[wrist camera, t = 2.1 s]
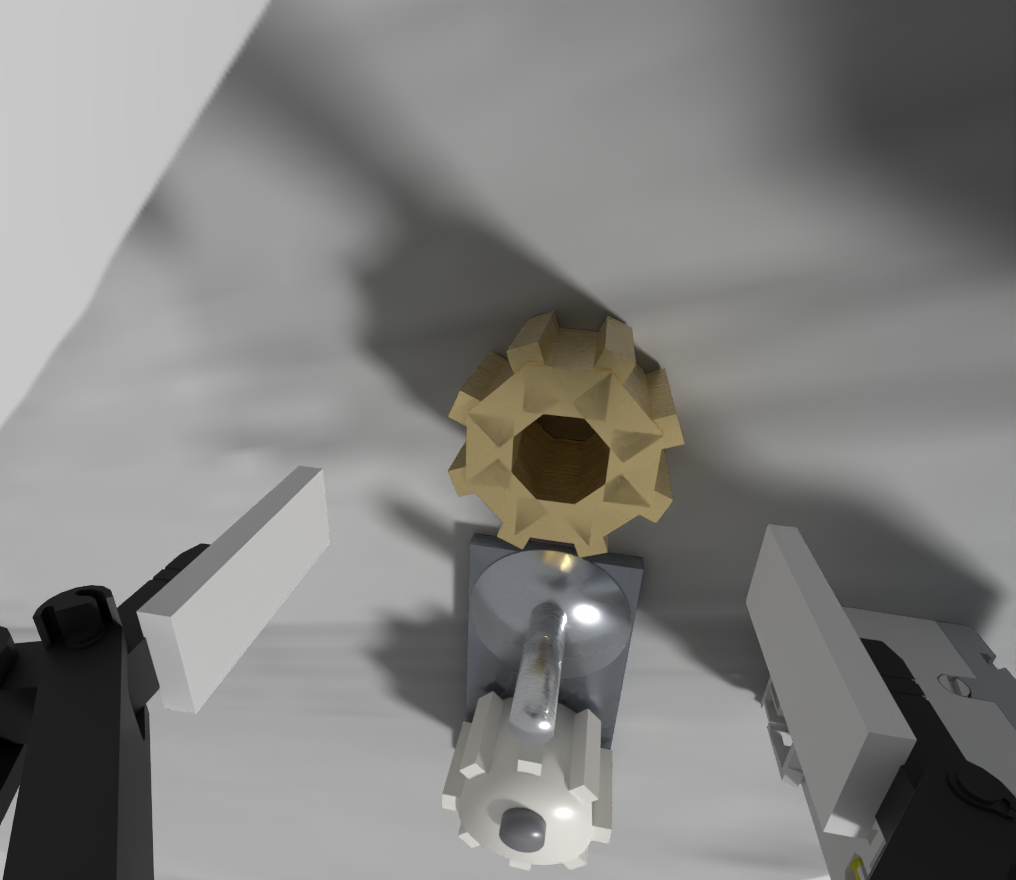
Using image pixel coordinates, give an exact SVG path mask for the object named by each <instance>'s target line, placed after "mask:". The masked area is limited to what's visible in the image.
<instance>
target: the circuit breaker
mask: <svg viewBox="0 0 1016 880" xmlns="http://www.w3.org/2000/svg"><path fill="white" fill-rule="evenodd" d="M841 607H842V608H843V610H844V612H845V614H846V615H847V617H848V619H849V621H850V623H851V624H852V626H853V628H854V630H855V631H856V633H857V635H858V637H859V638H865V639H872V640H879V641H883V642H884V643H885V644H886V645H887V646H888V647H889V648H891V649H892V650H893V651H894V652H895V653H896V654H897V655H898V656H899V657H901V658H902V659H903V660H904V662H905V664H906V665H907V667H908V668H909V670H910V672H911V673H912V675H913V676H914V678H915V679H916V680H915V682H916V683H917V684H919V686H920V687H921V689H922V690H923V692H924V694H925V695H926V700H929V702H930V703H931V705H932V706H933V708H934V709H935V711H936V713H937V714H938V716H939V717H940V719H941V721H942V722H943V724H944V725H945V727H946V728H947V730H948V732H949V733H950V735H951V736H952V738H953V739H954V741H955V743H956V744H957V746H958V747H959V749H960V751H961V752H962V754H963V755H964V757H965V758H966V760H967V761H969V762H971V763H973V764H975V765H977V766H979V767H982V768H984V769H985V770H986V771H988V772H989V773H990V774H992V775H993V776H994V777H996V778H997V779H999V780H1000V781H1001V782H1002V783H1003V784H1004V785H1005V786H1006V787H1007V788H1008V789H1009V790H1010V791H1011V792H1012V794H1013V795H1014V796H1015V798H1016V679H1015V678H1014V677H1013V676H1012V675H1011V673H1010V672H1009V671H1008V670H1007V669H1006V668H1003V669H1000V670H998V669H997V668H996V667H995V666H994V664H993V661H994V659H995V658H996V655H995V654H994V653H993V652H992V650H991V649H990V648H989V647H988V645H987V644H986V643H985V642H984V641H983V639H982V638H981V637H980V636H979V634H978V633H977V632H976V631H975V629H974V628H972V627H970V626H964V625H958V624H951V623H945V622H939V621H932V620H926V619H920V618H913V617H907V616H901V615H894V614H888V613H881V612H875V611H869V610H862V609H856V608H850V607H843V606H841ZM761 707H762V709H765V710H766V714H767V717H768V721H769V723H768V726H767V729H768V732H769V736H770V739H771V743H772V747H773V750H774V754H775V757H776V761H777V764H778V768H779V772H780V775H781V779H782V781H784V782H786V783H788V784H790V785H793V786H795V787H797V788H798V786H799V784H802V787H803V791H804V794H805V797H806V800H807V804H808V807H809V810H810V813H811V816H812V820H813V823H814V826H815V829H816V833H817V836H818V839H819V842H820V846H821V849H822V852H823V855H824V858H825V862H826V865H827V868H828V871H829V875H830V877H831V880H867V878H868V875H869V873H870V872H871V870H872V868H873V866H874V864H875V862H876V860H877V859H878V857H879V855H880V853H881V851H882V849H883V847H884V846H885V844H886V841H885V839H884V837H883V834H882V832H881V830H880V827H879V825H878V823H877V820H876V821H875V823H874V825H873V827H872V828H871V830H870V832H869V834H868V836H867V838H866V840H865V839H860V838H854V837H849V836H844V835H838V834H833V833H828V832H823V830H822V827H821V824H820V821H819V818H818V815H817V812H816V809H815V806H814V803H813V800H812V797H811V794H810V791H809V788H808V785H807V782H806V779H805V776H804V774H803V771H802V768H801V765H800V762H799V759H798V756H797V753H796V750H795V747H794V744H793V743H792V745H791V747H790V746H785V745H784V743H783V740H782V736H783V737H788V738H791V735H790V732H789V729H788V726H787V723H786V720H785V717H784V714H783V711H782V708H781V705H780V703H779V700H778V697H777V694H776V691H775V688H774V685H773V682H772V679H771V676H770V678H769V681H768V683H767V686H766V689H765V692H764V695H763V698H762V701H761Z"/></svg>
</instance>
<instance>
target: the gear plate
mask: <svg viewBox="0 0 1016 880" xmlns="http://www.w3.org/2000/svg"><path fill="white" fill-rule="evenodd" d="M643 571H644V567H643V558H639V557H632V556H625V555H618V554H611V553H602V554H597V555H591V556H586V557H581V558H579V556H578V553H577V551H576V548H570V547H563V546H556V545H549V544H542V543H535V542H527V543H526V545H525V546H524V548H523V549H521V548H519V547H517V546H515V545H513V544H511V543H509V542H507V541H505V540H503V539H501V538H499V537H493V536H486V535H479V534H474V536H473V538H472V540H471V543H470V562H469V602H468V643H467V684H466V722H469V723H472V721H473V718H474V714H475V710H476V707H477V703H478V699H479V698H481V697H483V696H485V695H486V694H488V693H490V692H492V691H494V692H495V693H496V694H497V695H498V696H499V697H500V698H501V699H502V700H503V699H507V698H510V697H514V698H513V703H512V708H511V712H510V717H509V722H508V727H509V730H510V732H511V733H512V735H513V736H514V737H516V738H517V739H518V740H520V741H522V742H525V743H528V744H543V743H546V742H548V741H549V740H550V739H551V738H552V737H553V735H554V728H555V719H556V711H557V702H558V703H560V704H562V705H564V706H566V707H568V708H570V709H571V710H573V711H574V712H576V713H579V712H582V711H584V710H586V709H589V710H590V711H591V712H592V713H593V714H594V715H595V716H596V717H597V718H598V719H599V720H600V721H601V745H600V748H604V749H609V750H610V749H611V743H612V738H613V733H614V727H615V722H616V716H617V711H618V706H619V700H620V695H621V690H622V684H623V679H624V673H625V668H626V663H627V657H628V652H629V646H630V641H631V636H632V630H633V625H634V619H635V614H636V609H637V603H638V598H639V592H640V587H641V582H642V576H643Z"/></svg>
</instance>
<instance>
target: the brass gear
mask: <svg viewBox="0 0 1016 880" xmlns="http://www.w3.org/2000/svg"><path fill="white" fill-rule="evenodd" d="M506 354H507V356H508V359H507V360H506V359H504V358H502V357H501V356H499V355H497V354H495V353H493V352H490V353H489V354H488V355H487V357H486V358H485V359H484V361H483V362H482V363H481V364H480V366H479V367H478V368H477V370H476V371H475V372H474V373H473V375H472V376H471V377H470V379H469V380H468V381H467V382H466V384H465V385H464V386H463V388H462V389H461V390H460V392H459V394H458V396H457V398H456V400H455V403H454V405H453V407H452V409H451V411H450V414H449V416H448V417H449V418H451V419H453V420H455V421H457V422H459V423H461V424H463V425H465V426H467V435H466V442H465V443H464V445H463V447H462V448H461V450H460V451H459V453H458V455H457V456H456V458H455V460H454V461H453V463H452V465H451V466H450V468H449V470H448V473H449V475H450V478H451V480H452V482H453V485H454V487H455V490H456V492H457V494H458V497H459V496H464V495H468V494H472V493H475V494H476V495H477V496H478V497H479V498H480V499H481V500H482V501H483V502H484V503H485V504H486V505H487V506H488V507H489V508H490V509H491V510H492V511H493V512H494V514H495V515H496V516H497V517H498V518H499V519H500V520H501V521H502V523H501V526H500V529H499V532H498V535H497V537H499V538H501V539H503V540H505V541H507V542H509V543H511V544H513V545H515V546H517V547H519V548H521V549H523V548H524V546H525V545H526V543H527V542H528V540H529V538H530V537H531V538H538V539H545V540H552V541H559V542H566V543H573V544H574V545H575V548H576V551H577V553H578V556H579V558H581V557H586V556H591V555H597V554H602V553H608V534H609V533H610V532H612V531H614V530H615V529H617V528H618V527H620V526H622V525H623V524H625V523H627V522H628V521H630V520H631V519H633V518H635V517H636V516H638V515H641V516H643V517H645V518H647V519H649V520H650V521H652V522H654V523H657V522H658V520H659V519H660V518H661V516H662V515H663V514H664V512H665V511H666V509H667V508H668V507H669V505H670V504H671V503H672V501H673V496H672V490H671V485H670V479H669V473H668V468H667V462H666V457H665V451H664V449H666V448H670V447H674V446H679V445H683V444H684V440H683V436H682V432H681V428H680V424H679V421H678V417H677V413H676V409H675V405H674V402H673V398H672V394H671V390H670V386H669V383H668V379H667V375H666V371H665V368H664V369H660V370H657V371H653V372H649V373H645V371H644V370H643V369H642V368H641V366H640V365H639V364H638V363H637V362H636V360H635V351H634V341H633V332H632V328H631V327H629V326H627V325H626V324H624V323H622V322H620V321H618V320H616V319H614V318H612V317H610V316H608V315H607V317H606V319H605V321H604V322H603V324H602V326H601V328H600V330H599V331H588V330H577V329H566V328H559V325H558V322H557V319H556V315H555V312H554V311H551V312H548V313H545V314H542V315H539V316H535V317H532V318H529V319H528V320H527V321H526V323H525V324H524V326H523V327H522V329H521V330H520V332H519V333H518V335H517V336H516V337H515V339H514V340H513V342H512V343H511V345H510V346H509V348H508V349H507V351H506ZM543 414H548V415H557V416H566V417H575V418H584V419H585V420H586V421H587V422H588V423H589V424H590V426H591V427H592V428H593V429H594V430H595V431H596V433H594V434H593V435H592V436H590V437H589V438H587V439H586V440H585V441H583V442H582V441H574V440H565V439H557V438H552V437H551V436H550V435H549V434H548V432H547V431H546V430H545V429H544V428H543V427H542V426H541V425H540V423H539V422H538V421H537V420H536V419H538V418H539V417H540V416H541V415H543Z"/></svg>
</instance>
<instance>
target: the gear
mask: <svg viewBox="0 0 1016 880" xmlns="http://www.w3.org/2000/svg"><path fill="white" fill-rule="evenodd" d="M513 698H514V697H510V698H507V699H503V700H502V699H501V698H500V697H499V696H498V695H497V694H496V693H495V692H494V691H492V692H490V693H488V694H486V695H485V696H483V697H481V698H479V699H478V703H477V707H476V710H475V714H474V718H473V721H472V723H469V722H464V721H463V724H462V728H461V731H460V735H459V738H458V742H457V745H456V748H455V752H454V755H453V759H452V762H451V766H450V769H449V773H448V776H447V780H446V783H445V787H444V790H443V793H442V808H445V809H450V810H455V811H459V817H460V820H461V825H460V829H459V833H458V836H459V837H460V838H461V839H462V840H463V841H465V842H466V843H467V844H468V845H469V846H470V847H472V848H474V847H476V846H479V845H482V846H483V847H485V848H486V849H488V850H490V851H491V852H493V853H495V854H497V855H500V856H502V857H504V858H507V859H510V863H509V866H511V867H516V868H520V869H524V870H529V871H530V867H531V864H534V865H551V864H558V863H563V864H564V865H565V866H566V867H567V868H568V869H569V870H572V869H575V868H578V867H581V866H584V865H587V853H588V845H589V843H590V841H591V840H593V841H598V842H603V843H607V844H609V840H610V835H611V830H612V750H609V749H604V748H600V745H601V721H600V720H599V719H598V718H597V717H596V716H595V715H594V714H593V713H592V712H591V711H590V710H589V709H586V710H584V711H582V712H579V713H576V712H574V711H573V710H571V709H570V708H568V707H566V706H564V705H562V704H560V703H558V702H557V711H556V719H555V728H554V735H553V737H552V738H551V739H550V740H549V741H548V742H546V743H543V744H528V743H525V742H522V741H520V740H518V739H517V738H516V737H514V736H513V735H512V733H511V732H510V730H509V727H508V722H509V717H510V712H511V708H512V703H513Z"/></svg>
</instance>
